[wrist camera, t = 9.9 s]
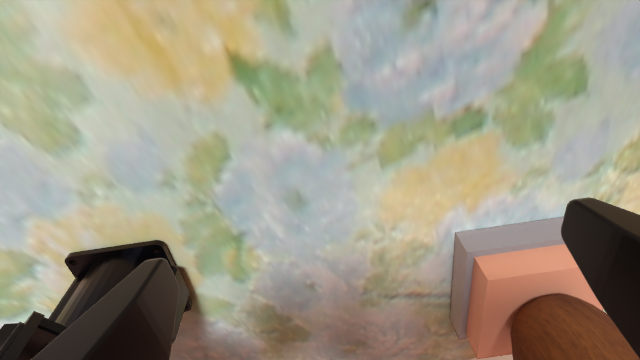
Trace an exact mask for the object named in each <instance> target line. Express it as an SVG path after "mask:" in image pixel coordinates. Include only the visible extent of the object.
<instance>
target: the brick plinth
mask: <svg viewBox="0 0 640 360" xmlns="http://www.w3.org/2000/svg"><path fill="white" fill-rule="evenodd" d="M563 219H564V217H558V218H551V219H545V220H538V221H531V222H524V223H517V224H510V225H503V226H497V227H490V228H483V229H476V230H469V231H462V232H456V233H455V248H454V263H453V278H452V293H451V308H450V319H451V321H452V324H453V326H454V329H455V331H456V333H457V336H458V338H459V339H466V338H468V340H469V342H470V344H471V346H472V349H473V351H474V353H475V355H476V358H477V359H480V358H488V357H495V356H502V355H509V354H512V342H511V336H510V331H511V327H512V324H513V321H514V319H515V317H516V316H517V314H518V313H519V311H520V310H521V309H522V308H523V307H525V306H526V305H527V304H528V303H530V302H531V301H533V300H535V299H536V298H538V297H542V296H545V295H549V294H559V293H562V294H568V295H571V296H574V297H577V298H580V299H582V300H584V301H586V302H588V303H590V304H593V305H594V306H596V307H597V308H599V309H600V310H602V311H603V307H602V306H601V304H600V303H599V301H598V300H597V298H596V296H595V295H594V293H593V292H592V290H591V288H590V287H589V285H588V283H587V281H586V280H585V278H584V276H583V274H582V273H581V271H580V269H579V267H578V266H577V264H576V262H575V260H574V259H573V257H572V255H571V253H570V252H569V250H568V248H567V246H566V245H565V243H564V241H563V239H562V236H561V226H562V223H563Z"/></svg>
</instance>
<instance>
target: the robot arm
mask: <svg viewBox="0 0 640 360" xmlns="http://www.w3.org/2000/svg"><path fill="white" fill-rule="evenodd" d="M561 236H562V239H563V241H564V243H565V245H566V246H567V248H568V250H569V252H570V253H571V255H572V257H573V259H574V260H575V262H576V264H577V266H578V267H579V269H580V271H581V273H582V274H583V276H584V278H585V280H586V281H587V283H588V285H589V287H590V288H591V290H592V292H593V293H594V295H595V296H596V298H597V300H598V301H599V303H600V304H601V306H602V307H603V309H604V310H605V311H606V313H607V314H608V316H609V317H610V318H611V320H612V321H613V323H614V324H615V325H616V327H617V328H618V330H619V331H620V332H621V334H622V335H623V337H624V338H625V339H626V341H627V342H628V344H629V345H630V346H631V348H632V349H633V350H634V352H635V353H636V355H637V356H638V357H639V359H640V215H638V214H635V213H633V212H630V211H627V210H624V209H622V208H619V207H616V206H613V205H611V204H608V203H605V202H602V201H599V200H597V199H594V198H582V199H575V200H572V201H570V202H569V203H568V205H567V207H566V211H565V215H564V219H563V223H562V226H561ZM155 247H157V248H159V249H156V248H155ZM65 263H66V265H67V266H68V268H69V269H70V271H71V272H72V274H73V275H74V277H75V280H74V281H73V283H72V284H71V286H70V287H69V289H68V290H67V292H66V293H65V295H64V296H63V298H62V299H61V301H60V302H59V304H58V305H57V307H56V308H55V310H54V311H53V313H52V314H51V316H50V317H49V319H47V318H45V317H44V316H45V315H43V314H40V313H38V312H35V311H34V312H33V313H32V314H31V316H30V317H29V318H28V319H27V321H26V322H25V323H22V322H19V323H15V324H4V325H3V327H2V328H1V329H0V360H169V358H170V352H171V346H172V343H173V342H174V341H175V339H176V335H177V332H178V329H179V326H180V322H181V319H182V316H183V313H184V312H186V311H189V310H190V309H191V307H192V300H191V298H190V296H189V290H188V288H187V286H186V283H185V281H184V279H183V277H182V275H181V273H180V271H179V269H178V268H177V267H176V266H175V264H174V262H173V260H172V258H171V256H170V254H169V251H168V249H167V247H166V245H165V244H164V243H163V242H162V241H159V240H154V241H148V242H141V243H134V244H127V245H121V246H114V247H107V248H100V249H94V250H87V251H80V252H74V253H70V254H69V255H68V256H67V258H66V259H65Z"/></svg>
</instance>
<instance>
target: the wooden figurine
mask: <svg viewBox="0 0 640 360" xmlns="http://www.w3.org/2000/svg"><path fill="white" fill-rule="evenodd" d="M510 336H511V342H512V355H513V360H640V359H639V357H638V356H637V355H636V353H635V352H634V350H633V349H632V348H631V346H630V345H629V344H628V342H627V341H626V339H625V338H624V337H623V335H622V334H621V332H620V331H619V330H618V328H617V327H616V325H615V324H614V323H613V321H612V320H611V318H610V317H609V316H608V314H606V313H605V312H603V311H602V310H600V309H599V308H597V307H596V306H594V305H593V304H590V303H588V302H586V301H584V300H582V299H580V298H577V297H574V296H571V295H568V294H562V293H559V294H549V295H545V296H542V297H538V298H536V299H535V300H533V301H531V302H530V303H528V304H527V305H526V306H525V307H523V308H522V309H521V310H520V311H519V313H518V314H517V316H516V317H515V319H514V321H513V324H512V327H511V331H510Z"/></svg>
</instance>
